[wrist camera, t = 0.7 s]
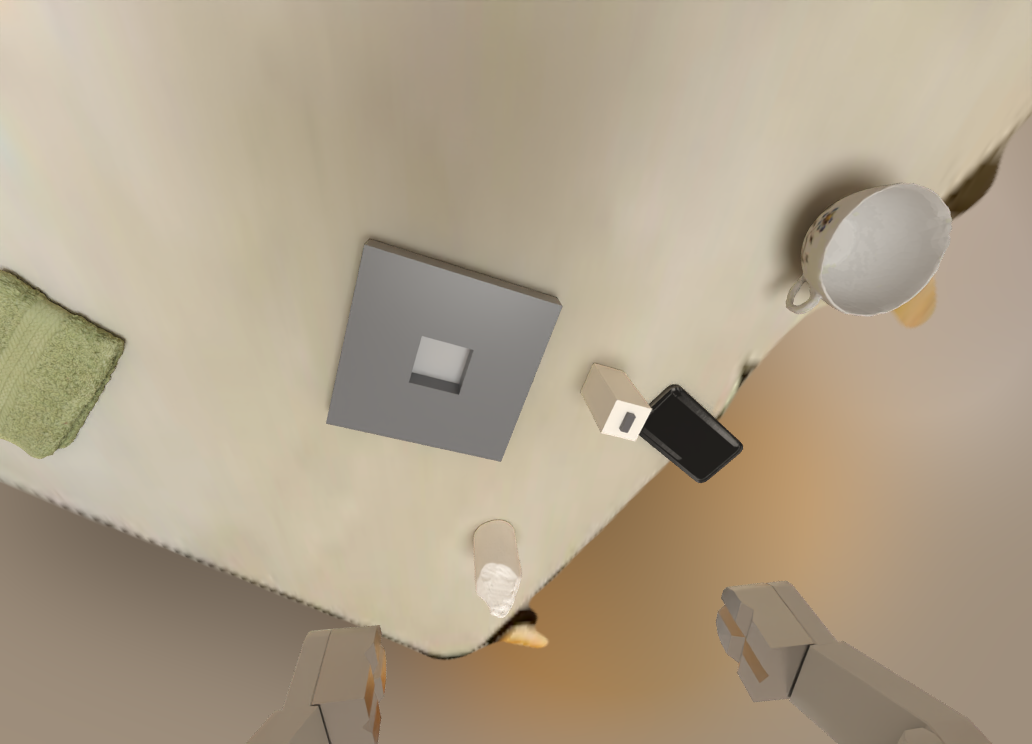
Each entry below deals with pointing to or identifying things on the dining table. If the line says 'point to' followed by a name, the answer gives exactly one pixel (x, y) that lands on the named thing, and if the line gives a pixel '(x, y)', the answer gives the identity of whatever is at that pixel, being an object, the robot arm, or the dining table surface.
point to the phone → (689, 434)
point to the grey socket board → (438, 353)
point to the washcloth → (48, 368)
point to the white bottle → (496, 566)
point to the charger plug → (615, 402)
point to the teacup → (873, 250)
